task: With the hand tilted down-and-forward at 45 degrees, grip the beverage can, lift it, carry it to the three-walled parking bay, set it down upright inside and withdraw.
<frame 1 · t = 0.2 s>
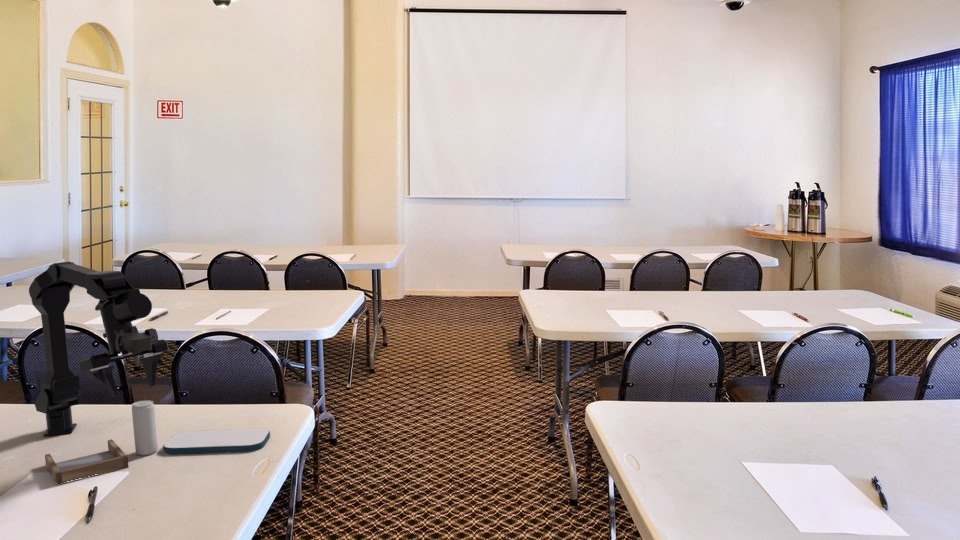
hand: (134, 391, 167), 15 cm above the table, tool tilted 15°, fingers open, 9 cm apart
external hard drive: (218, 446, 176), on the table
bay: (86, 466, 164), on the table
beverage can: (147, 453, 171), on the table
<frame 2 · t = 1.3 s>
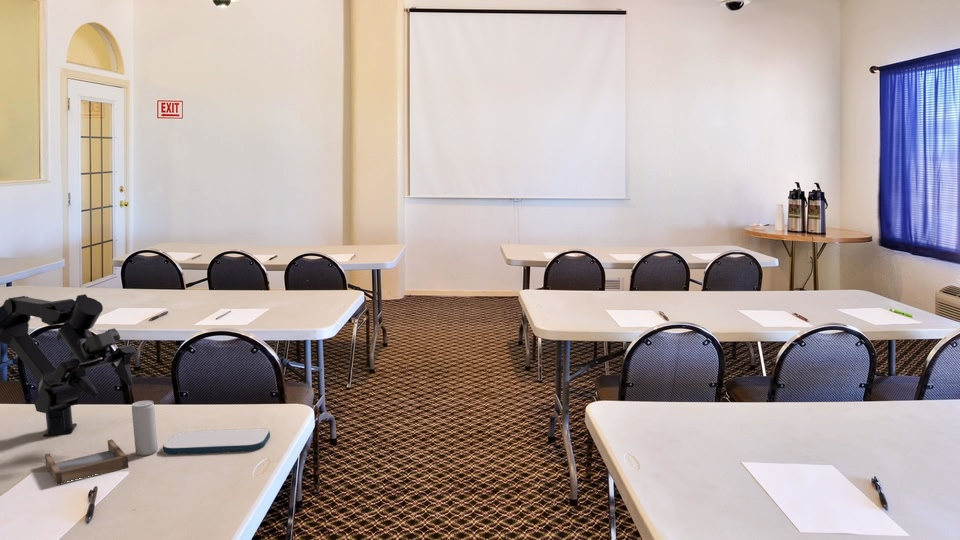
hand: (114, 390, 174), 14 cm above the table, tool tilted 45°, fingers open, 9 cm apart
nothing on the table moved.
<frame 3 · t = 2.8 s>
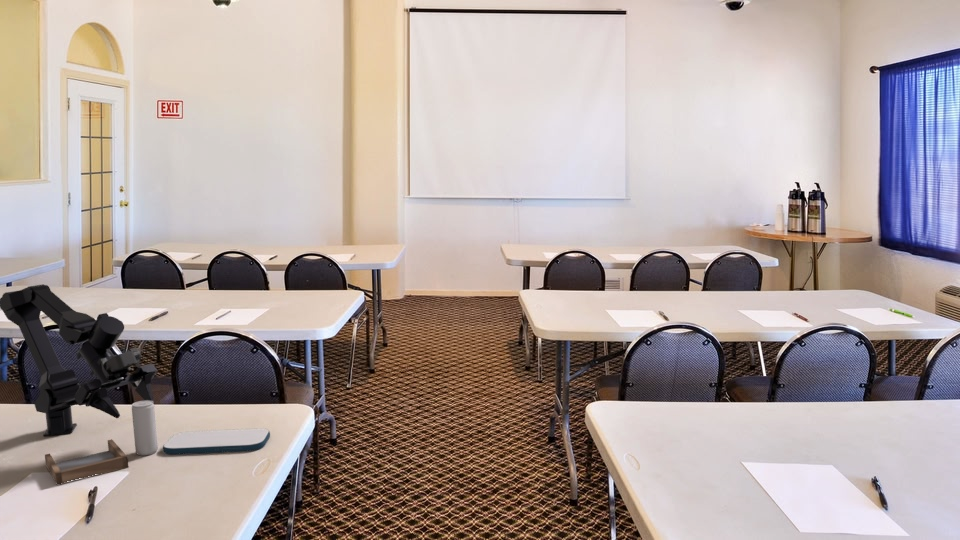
hand: (136, 411, 171), 10 cm above the table, tool tilted 45°, fingers open, 9 cm apart
nothing on the table moved.
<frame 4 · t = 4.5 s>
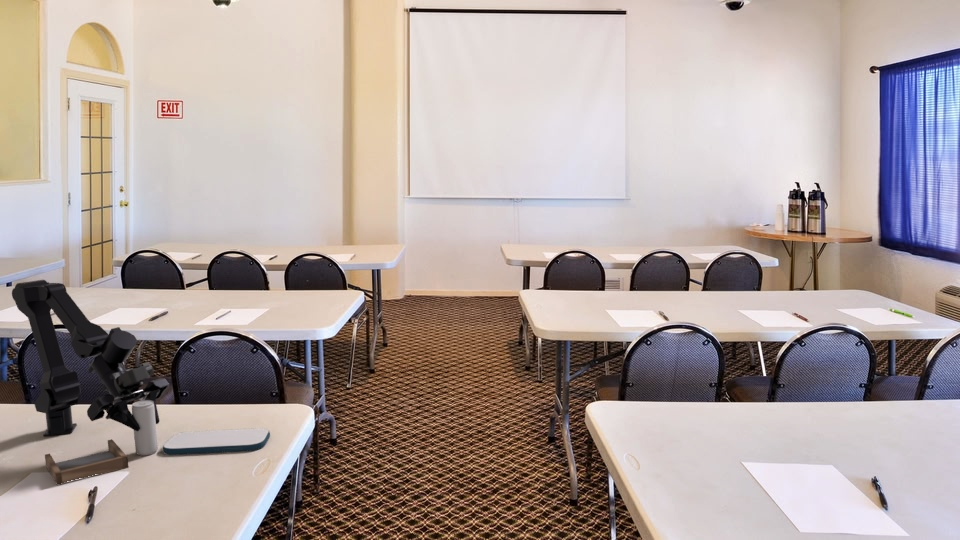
hand: (148, 426, 170), 7 cm above the table, tool tilted 45°, fingers closed on beverage can, 5 cm apart
beverage can: (147, 453, 171), on the table, touching gripper
everything else where it was.
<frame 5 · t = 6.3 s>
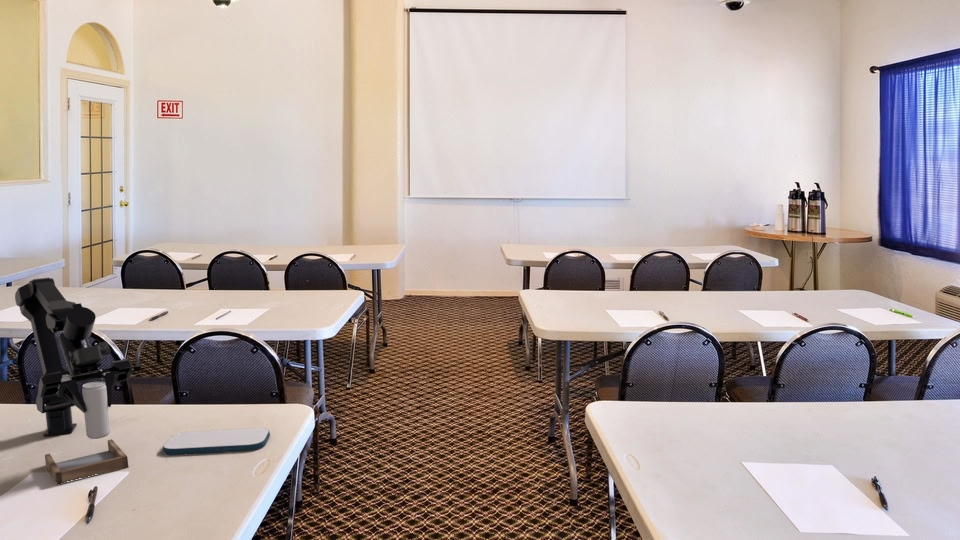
hand: (97, 408, 162), 13 cm above the table, tool tilted 45°, fingers closed on beverage can, 5 cm apart
beverage can: (98, 436, 164), point 6 cm above the table, touching gripper
everything else where it was.
when the fingers open (8 cm above the table, at t = 8.2 s): beverage can stays where it is, resting on bay.
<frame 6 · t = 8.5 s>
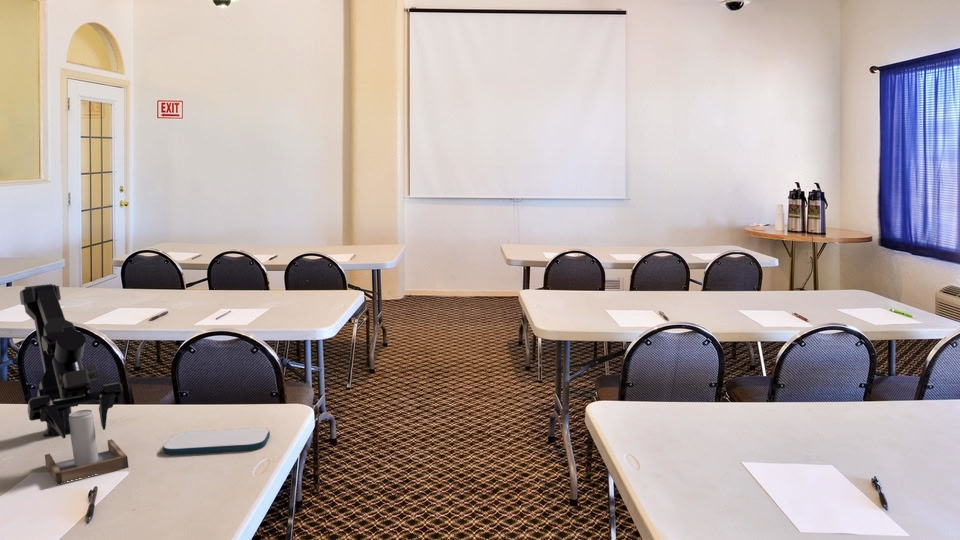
hand: (84, 433, 161), 8 cm above the table, tool tilted 45°, fingers open, 8 cm apart
beverage can: (86, 465, 164), resting on bay
everything else where it was.
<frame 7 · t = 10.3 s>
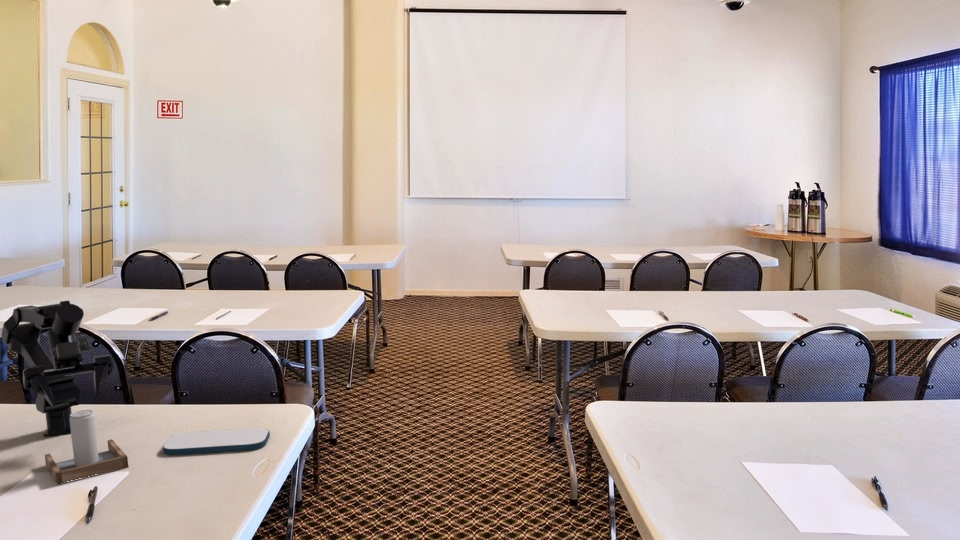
hand: (76, 401, 170), 12 cm above the table, tool tilted 45°, fingers open, 9 cm apart
nothing on the table moved.
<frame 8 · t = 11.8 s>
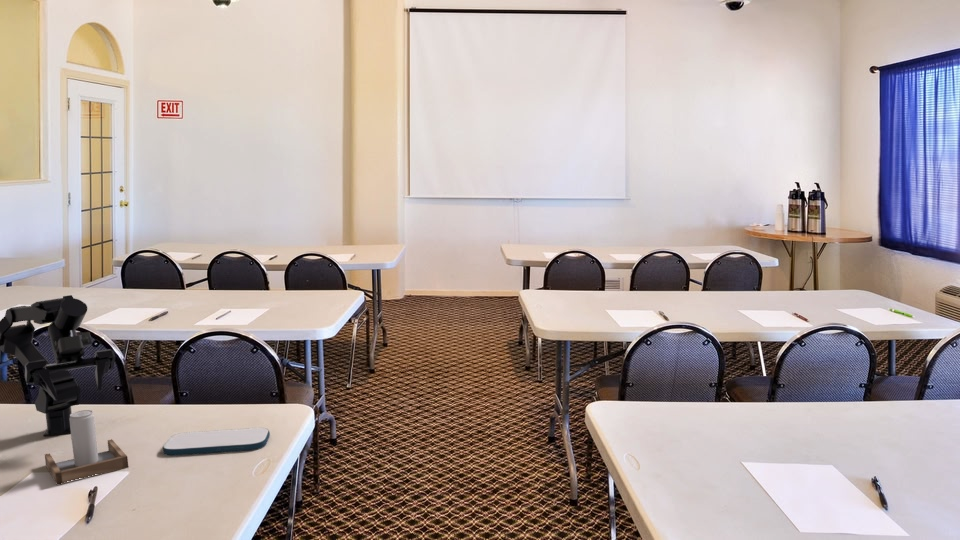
hand: (78, 395, 171), 14 cm above the table, tool tilted 45°, fingers open, 9 cm apart
nothing on the table moved.
at the end: beverage can 0.2 cm from the bay (horizontally); beverage can tilted 0°; the gripper is holding nothing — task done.
